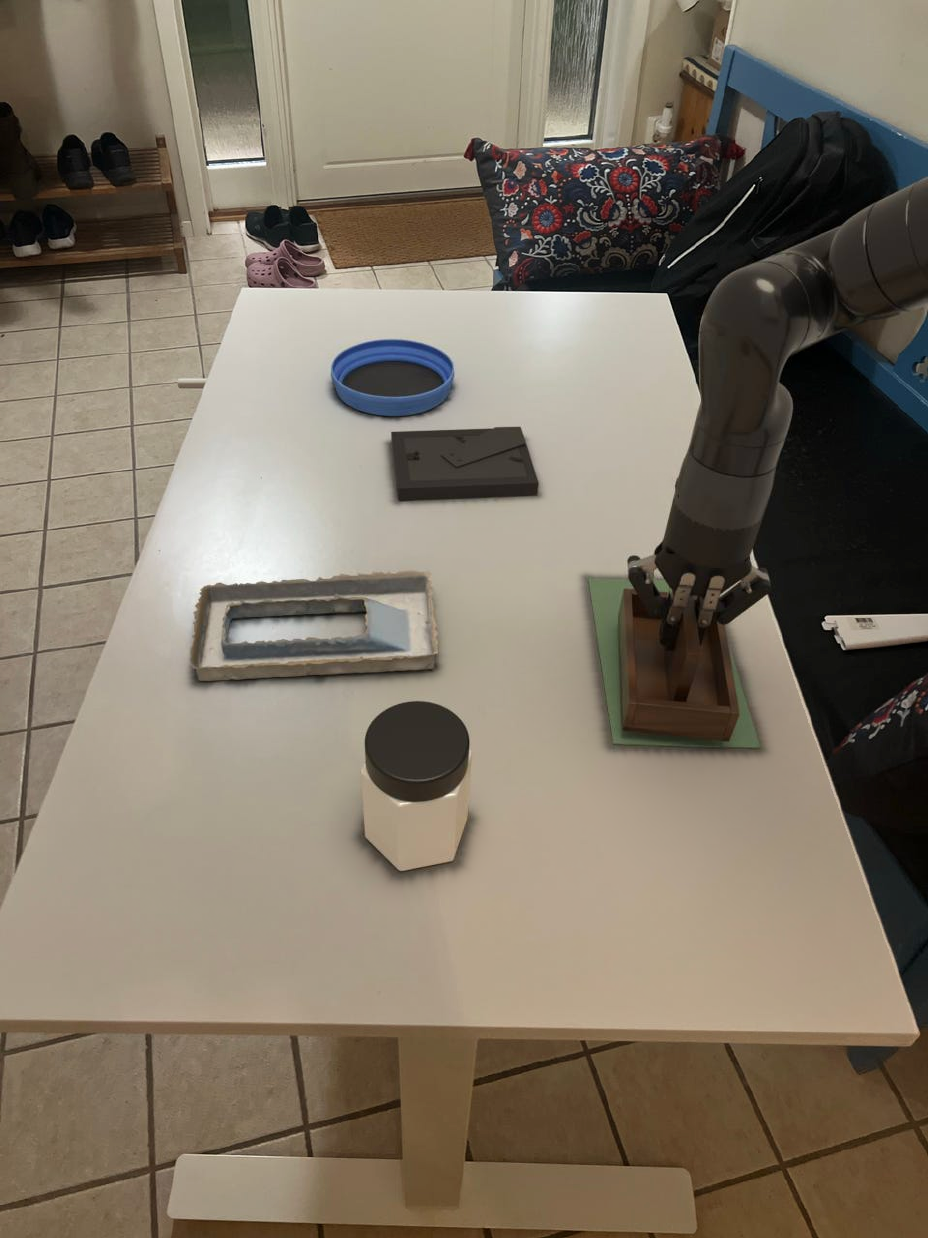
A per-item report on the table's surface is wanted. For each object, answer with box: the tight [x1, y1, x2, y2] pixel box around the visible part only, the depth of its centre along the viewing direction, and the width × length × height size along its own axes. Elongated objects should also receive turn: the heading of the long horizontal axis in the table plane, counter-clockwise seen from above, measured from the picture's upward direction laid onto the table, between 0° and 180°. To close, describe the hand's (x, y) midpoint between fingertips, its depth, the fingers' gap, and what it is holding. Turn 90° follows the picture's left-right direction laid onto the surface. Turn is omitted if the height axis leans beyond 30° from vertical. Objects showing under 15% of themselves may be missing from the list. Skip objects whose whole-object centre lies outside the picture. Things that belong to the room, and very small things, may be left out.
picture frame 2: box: [390, 426, 540, 502], centre depth 116 cm, size 13×2×18 cm
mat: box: [587, 577, 761, 750], centre depth 93 cm, size 24×14×1 cm, turn 0°
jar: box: [360, 700, 473, 872], centre depth 72 cm, size 9×8×12 cm
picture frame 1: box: [189, 569, 440, 682], centre depth 92 cm, size 13×25×3 cm, turn 97°
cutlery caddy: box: [618, 588, 740, 742], centre depth 86 cm, size 16×10×9 cm, turn 174°
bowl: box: [330, 338, 455, 417], centre depth 131 cm, size 18×18×4 cm
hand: (678, 645), depth 86 cm, fingers closed on cutlery caddy, 1 cm apart
